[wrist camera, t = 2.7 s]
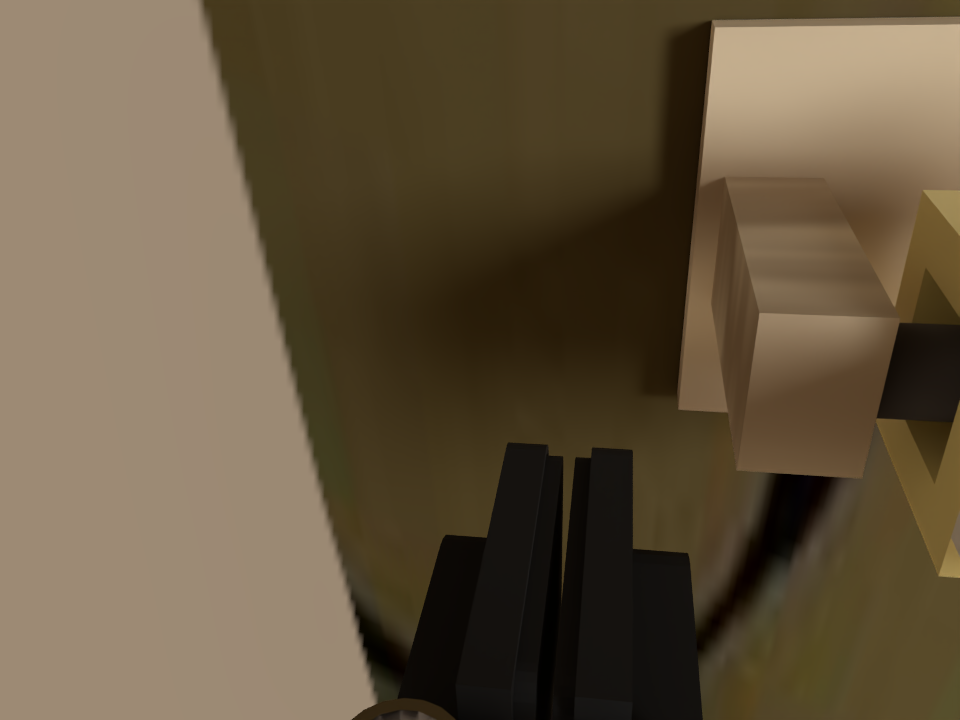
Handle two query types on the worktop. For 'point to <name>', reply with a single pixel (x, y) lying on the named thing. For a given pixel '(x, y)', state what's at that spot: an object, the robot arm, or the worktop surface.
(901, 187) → the roller holder rack
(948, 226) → the sleeve
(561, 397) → the worktop surface
